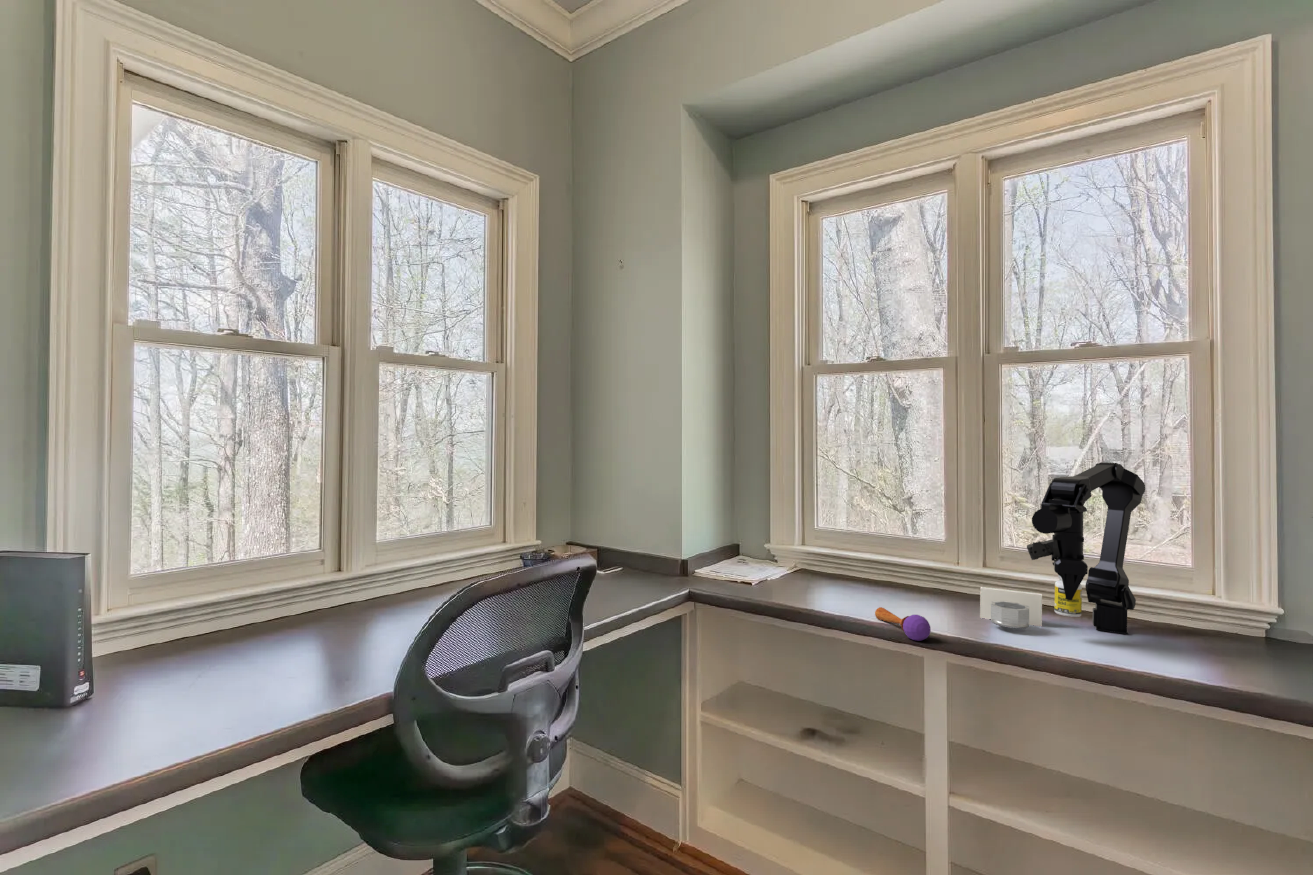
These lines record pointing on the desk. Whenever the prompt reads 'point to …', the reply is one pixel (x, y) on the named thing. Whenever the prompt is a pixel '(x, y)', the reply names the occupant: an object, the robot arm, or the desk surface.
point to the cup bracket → (1010, 614)
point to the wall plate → (1011, 596)
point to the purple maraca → (907, 624)
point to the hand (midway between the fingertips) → (1068, 597)
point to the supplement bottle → (1067, 601)
